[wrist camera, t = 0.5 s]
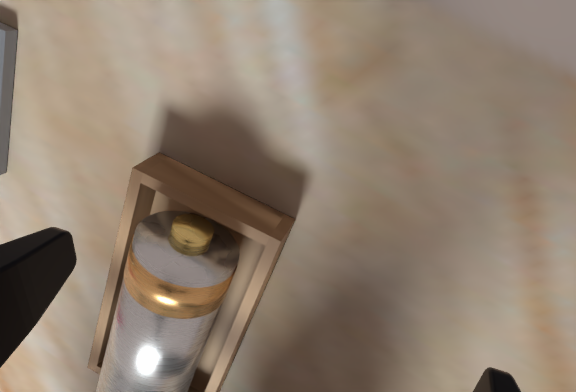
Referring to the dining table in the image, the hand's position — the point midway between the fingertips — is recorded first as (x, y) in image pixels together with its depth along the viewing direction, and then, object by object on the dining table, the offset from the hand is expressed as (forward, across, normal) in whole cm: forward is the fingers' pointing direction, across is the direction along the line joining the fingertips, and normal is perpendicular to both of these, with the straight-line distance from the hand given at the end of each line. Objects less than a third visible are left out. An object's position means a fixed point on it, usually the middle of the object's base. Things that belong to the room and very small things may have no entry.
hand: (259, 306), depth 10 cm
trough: (+12, +8, +14) cm, 20 cm away
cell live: (+11, +8, +14) cm, 20 cm away
